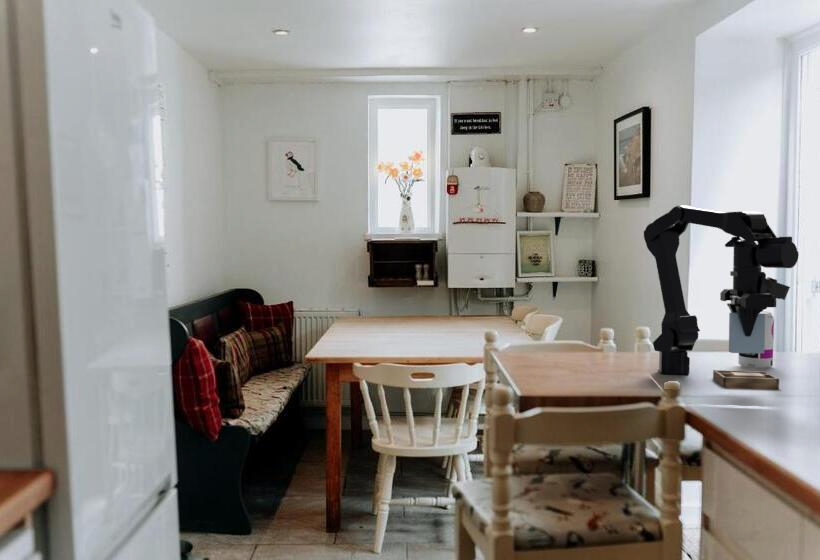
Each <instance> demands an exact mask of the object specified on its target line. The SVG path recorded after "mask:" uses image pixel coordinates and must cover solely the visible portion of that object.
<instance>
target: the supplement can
mask: <svg viewBox="0 0 820 560" xmlns="http://www.w3.org/2000/svg"><path fill="white" fill-rule="evenodd" d="M760 313H764V314H765V348H764V353H738V365H740V367H743V368H744V367H745V368H756V369H769V368H772V367H773V366H774V364H773V363H774V335H775V334H774V333H775V332H774V330H775V327H774V326H775V318H774V316H773V314H772V312H770V311H764V310H763V311H762V312H760Z"/></svg>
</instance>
